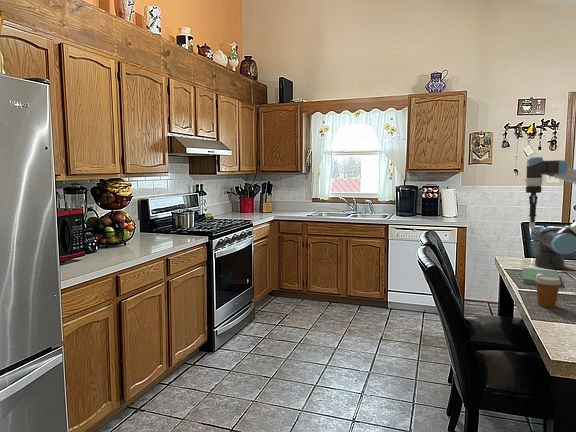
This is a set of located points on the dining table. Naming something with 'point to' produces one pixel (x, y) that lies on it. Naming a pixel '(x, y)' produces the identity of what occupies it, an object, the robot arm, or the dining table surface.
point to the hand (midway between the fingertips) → (532, 228)
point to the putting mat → (530, 274)
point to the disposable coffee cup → (547, 290)
